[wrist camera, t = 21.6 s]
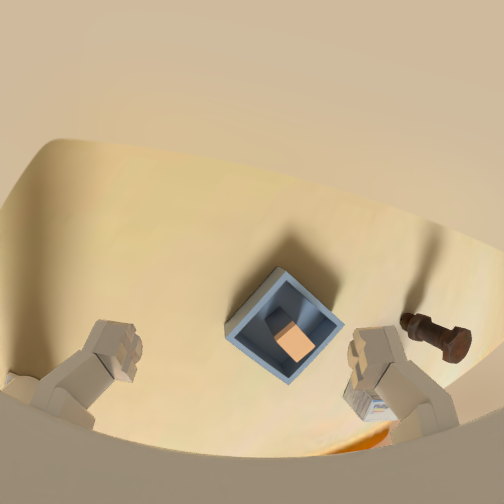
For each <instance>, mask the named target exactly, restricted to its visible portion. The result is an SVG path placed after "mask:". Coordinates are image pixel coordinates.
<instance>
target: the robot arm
mask: <svg viewBox="0 0 504 504" xmlns="http://www.w3.org/2000/svg"><path fill="white" fill-rule="evenodd" d="M135 332H136V328H135V327H134V325H133V324H128V323H121V322H114V321H108V320H100V319H99V320H98V321H96V323H95V325H94V327H93V328H92V330H91V332H90V335H89V337H88V339H87V341H86V343H85V345H84V347H83V349H82V351H80V350H79V351H77V352H76V353H75V354H73V355H72V356H71V357H69V358H68V359H67V360H65V361H64V362H63V363H61V364H60V365H59V366H57V367H56V368H55V369H54V370H52V371H51V372H50V373H48V374H47V375H46V376H44V377H43V378H42V379H40V381H39V380H38V379H36V378H33V377H30V376H18V375H16V374H14V373H11V372H9V373H8V374H7V376H6V385H5V387H4V388H3V389H1V390H0V504H504V407H502V408H500V409H497V410H495V411H493V412H491V413H489V414H486V415H484V416H482V417H479V418H477V419H474V420H472V421H469V422H467V423H464V424H462V425H459V421H458V418H457V414H456V411H455V408H454V404H453V401H452V398H451V396H450V395H449V394H448V393H447V392H446V391H445V390H444V389H443V388H442V387H440V386H439V385H438V384H437V383H436V382H435V381H434V380H433V379H431V378H430V377H429V376H428V375H427V374H426V373H425V372H424V371H422V370H421V369H420V368H419V367H418V366H417V365H416V364H414V363H413V362H412V361H411V360H410V361H407V358H406V355H405V352H404V349H403V346H402V343H401V341H400V338H399V335H398V332H397V330H396V328H395V327H394V326H384V327H368V328H356V329H355V330H354V333H353V338H354V340H352V341H351V342H350V344H349V347H348V354H347V355H348V364H349V366H350V367H351V368H352V369H353V372H352V374H351V380H352V385H353V391H357V390H368V389H374V390H375V392H376V393H377V394H378V395H379V396H380V398H381V399H382V400H383V401H384V402H385V403H386V405H387V406H388V407H389V408H390V409H391V411H392V412H393V413H394V414H395V415H396V417H397V418H398V419H399V420H400V421H401V423H400V424H398V425H397V426H396V427H395V428H394V429H393V430H392V431H391V433H390V434H391V440H392V445H389V446H384V447H379V448H374V449H368V450H362V451H355V452H348V453H341V454H332V455H322V456H309V457H288V458H252V457H231V456H218V455H208V454H199V453H191V452H184V451H178V450H171V449H166V448H160V447H155V446H150V445H146V444H141V443H137V442H133V441H128V440H125V439H121V438H117V437H113V436H110V435H106V434H103V433H100V432H97V431H93V430H92V429H93V426H94V422H95V418H94V416H93V415H92V414H91V413H90V412H88V411H87V409H88V408H89V406H90V405H91V404H92V403H93V402H94V401H95V400H96V399H97V398H98V397H99V396H100V395H101V394H102V393H103V392H104V391H105V390H106V389H107V388H108V387H109V386H110V385H111V384H112V383H113V382H114V380H119V381H125V382H131V383H133V380H134V377H135V374H136V371H137V367H136V365H135V363H137V362H138V361H139V360H140V359H141V355H142V347H143V346H142V341H141V339H140V337H139V336H138V335H136V334H135Z"/></svg>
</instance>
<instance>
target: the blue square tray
mask: <svg viewBox="0 0 504 504" xmlns="http://www.w3.org/2000/svg"><path fill="white" fill-rule="evenodd" d="M279 306H280V307H281V308H282V309H283V310H284V311H285V312H286V313H287V314H288V315H289V317H290V318H291V319H292V320H293V321H294V322H295V323H296V324H297V326H298V327H299V328H300V329H301V330H302V331H303V332H304V334H305V335H306V336H307V337H308V338H309V339H310V341H311V342H312V343H313V344H314V345H315V346H316V347H314V348H313V349H312V350H311V351H310V352H309V353H308V354H306V355H305V356H304V357H303V358H302V359H301V360H299V361H298V362H296V361H295V360H294V359H293V358H292V357H291V356H290V355H289V354H288V353H287V352H286V351H285V350H284V349H283V348H282V347H281V346H280V345H279V344H278V343H277V342H276V340H275V338H274V337H273V335H272V333H271V331H270V329H269V327H268V326H267V324H266V322H265V320H264V319H265V318H266V317H267V316H269V315H270V314H271V313H272V312H273V311H274V310H275V309H277V308H278V307H279ZM344 325H345V324H344V323H343V322H341V321H340V320H339V319H338V318H337V317H336V316H335V315H334V314H333V313H332V312H331V311H329V310H328V309H327V308H326V307H325V306H324V305H323V304H322V303H321V302H320V301H319V300H317V299H316V298H315V297H314V296H313V295H312V294H311V293H310V292H309V291H308V290H306V289H305V288H304V287H303V286H302V285H301V284H300V283H299V282H298V281H297V280H296V279H294V278H293V277H292V276H291V275H290V274H289V273H288V272H287V271H285V270H284V269H282V268H280V267H278V266H277V267H276V268H275V269H274V270H273V271H272V272H271V274H270V275H269V276H268V277H267V278H266V279H265V280H264V281H263V283H262V284H261V285H260V286H259V287H258V288H257V289H256V290H255V291H254V293H253V294H252V295H251V296H250V297H249V298H248V299H247V300H246V302H245V303H244V304H243V305H242V306H241V307H240V308H239V309H238V310H237V311H236V313H235V314H234V315H233V316H232V317H231V318H230V319H229V320H228V321H227V322H226V324H225V325H224V330H225V339H226V340H228V341H229V342H230V343H232V344H233V345H234V346H236V347H237V348H238V349H239V350H241V351H242V352H243V353H245V354H246V355H247V356H249V357H250V358H251V359H253V360H254V361H255V362H257V363H258V364H259V365H261V366H262V367H264V368H265V369H266V370H268V371H269V372H271V373H272V374H273V375H275V376H276V377H278V378H279V379H280V380H282V381H283V382H285V383H286V384H288V385H289V384H290V383H291V382H292V381H293V380H294V379H295V378H296V377H297V376H298V375H299V374H300V373H301V372H302V371H303V370H304V369H305V368H306V367H307V366H308V365H309V364H310V363H311V362H312V361H313V360H314V359H315V358H316V357H317V355H318V354H319V353H320V352H321V351H322V350H323V349H324V348H325V347H326V346H327V345H328V343H329V342H330V341H331V340H332V339H333V338H334V337H335V336H336V334H337V333H338V332H339V331H340V330H341V329H342V328H343V326H344Z"/></svg>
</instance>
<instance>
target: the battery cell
mask: <svg viewBox="0 0 504 504" xmlns="http://www.w3.org/2000/svg"><path fill="white" fill-rule="evenodd" d="M264 320H265V322H266V324H267V326H268V327H269V329H270V331H271V333H272V335H273V337H274V338H275V340H276V342H277V343H278V344H279V345H280V346H281V347H282V348H283V349H284V350H285V351H286V352H287V353H288V354H289V355H290V356H291V357H292V358H293V359H294V360H295V361H296V362H298V361H299V360H301V359H302V358H303V357H304V356H305V355H306V354H308V353H309V352H310V351H311V350H312V349H313V348H314V347H316V346H315V345H314V344H313V343H312V342H311V341H310V339H309V338H308V337H307V336H306V335H305V334H304V332H303V331H302V330H301V329H300V328H299V327H298V326H297V324H296V323H295V322H294V321H293V320H292V319H291V318H290V317H289V315H288V314H287V313H286V312H285V311H284V310H283V309H282V308H281V307H280V306H279V307H278V308H277V309H275V310H274V311H273V312H272V313H271V314H270V315H269V316H267V317H266V318H265V319H264Z"/></svg>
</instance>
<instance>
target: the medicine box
mask: <svg viewBox="0 0 504 504" xmlns="http://www.w3.org/2000/svg"><path fill="white" fill-rule="evenodd" d="M343 399H344V400H345V401H346V402H347V403H348V405H349V406H350V407H351V408H352V409H353V411H354V412H355V413H356V414H357V415H358V417H359V418H360V419H361V420H362V421H363V422H370V421H391V420H398V418H397V417H396V415H395V414H394V413H393V412H392V411H391V409H390V408H389V407H388V406H387V405H386V403H385V402H384V401H383V400H382V399H381V398H380V396H379V395H378V394H377V393H376V392H375V390H374V389H368V390H357V391H353V385H352V380H351V379H350V381H349V384H348V386H347V389H346V391H345V393H344V396H343Z"/></svg>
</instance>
